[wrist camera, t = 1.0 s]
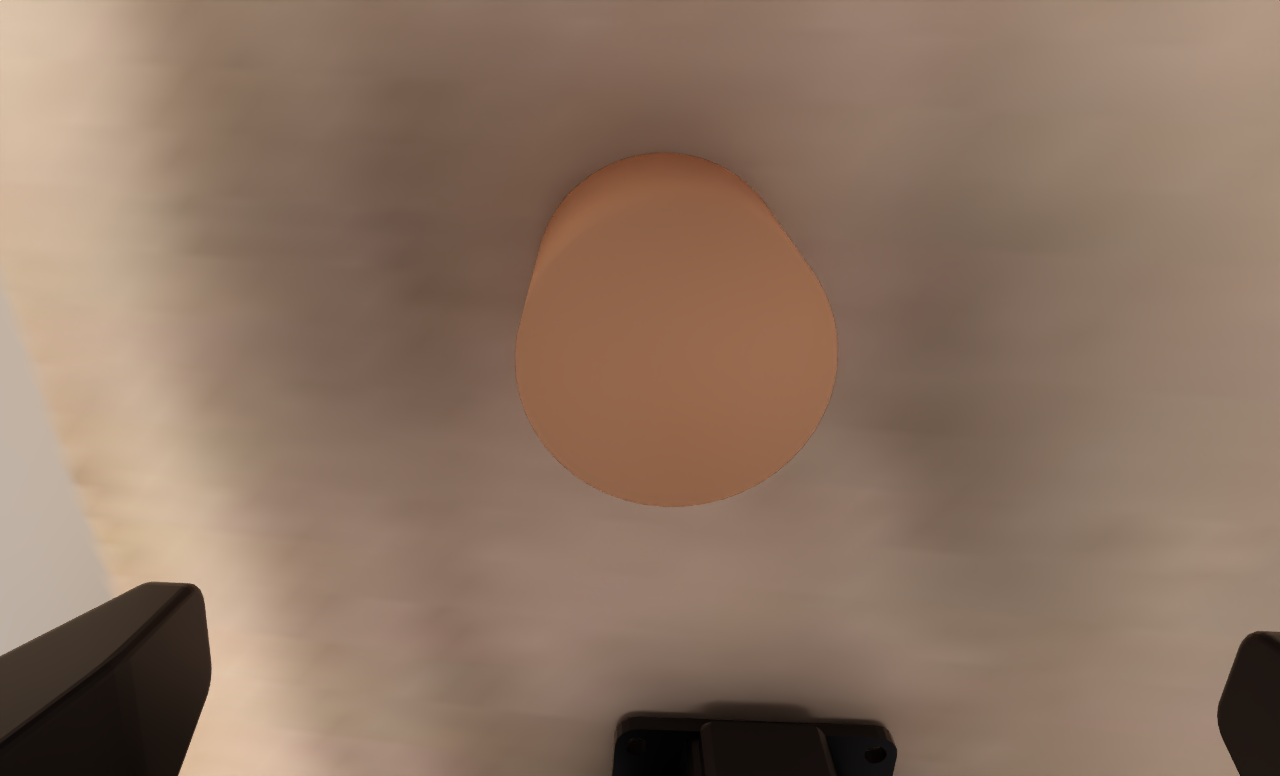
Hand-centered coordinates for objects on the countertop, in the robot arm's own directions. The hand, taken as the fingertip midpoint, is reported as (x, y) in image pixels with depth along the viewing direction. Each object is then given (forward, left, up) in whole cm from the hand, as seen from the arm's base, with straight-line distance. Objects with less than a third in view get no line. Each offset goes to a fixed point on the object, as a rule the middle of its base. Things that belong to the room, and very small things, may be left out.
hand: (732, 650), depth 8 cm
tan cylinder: (0, 0, -11) cm, 11 cm away
